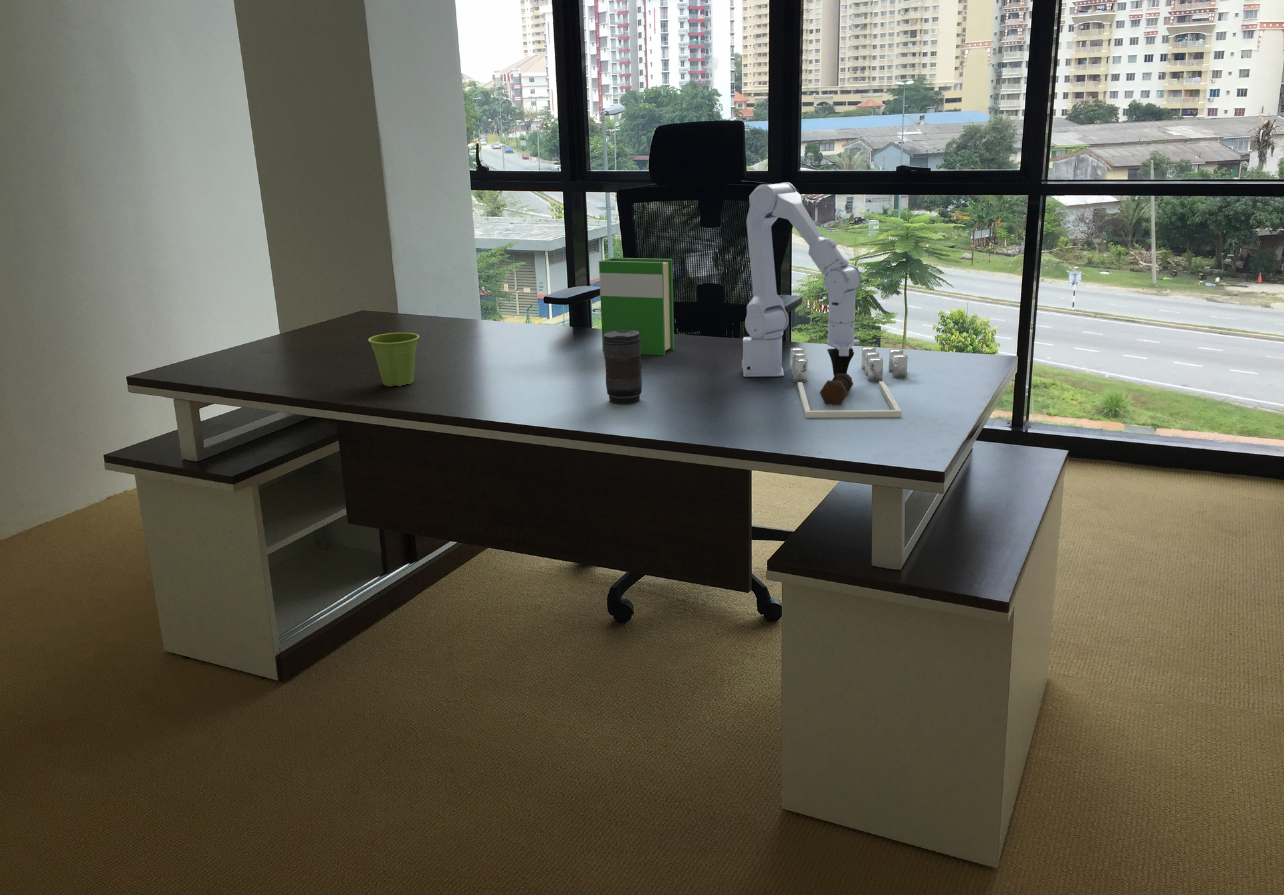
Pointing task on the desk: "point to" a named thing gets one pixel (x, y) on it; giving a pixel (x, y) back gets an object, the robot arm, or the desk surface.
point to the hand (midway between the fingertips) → (839, 380)
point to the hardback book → (638, 300)
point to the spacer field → (869, 364)
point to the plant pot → (395, 357)
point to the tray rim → (852, 413)
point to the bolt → (836, 389)
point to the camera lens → (623, 366)
